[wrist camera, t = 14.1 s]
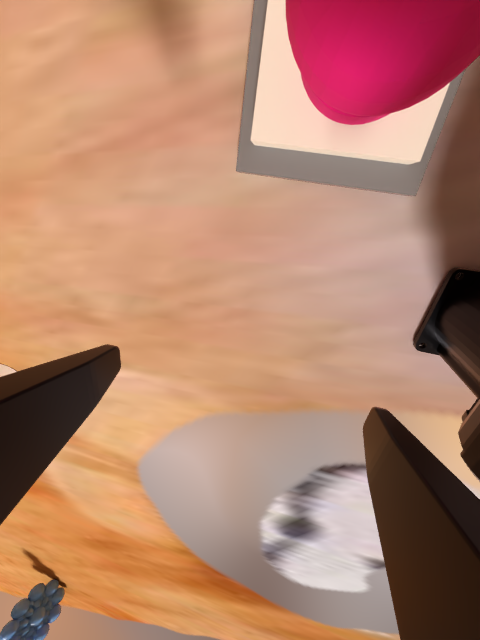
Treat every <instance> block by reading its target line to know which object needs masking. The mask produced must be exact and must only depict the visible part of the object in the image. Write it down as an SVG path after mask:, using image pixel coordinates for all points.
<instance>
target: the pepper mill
mask: <svg viewBox="0 0 480 640" xmlns="http://www.w3.org/2000/svg"><path fill="white" fill-rule="evenodd" d="M286 22H287V30H288V37H289V41H290V45H291V49H292V52H293V56H294V59H295V61H296V64H297V66H298V68H299V70H300V72H301V78H302V82H303V85H304V88H305V90H306V93H307V95H308V97H309V99H310V100H311V102H312V103H313V105H314V106H315V107H316V108H317V110H318V111H320V112H321V113H322V114H323V115H324V116H326V117H327V118H329V119H330V120H333V121H335V122H338V123H342V124H347V125H360V124H365V123H369V122H373V121H376V120H379V119H381V118H383V117H385V116H387V115H389V114H391V113H394V112H397V111H401V110H404V109H406V108H409V107H411V106H413V105H415V104H417V103H419V102H421V101H423V100H425V99H427V98H429V97H430V96H432V95H433V94H435V93H436V92H438V91H439V90H441V89H442V88H444V87H445V86H446V85H447V84H449V83H450V82H451V81H452V80H453V79H454V78H456V77H457V76H458V75H459V74H460V73H461V72H463V71H464V70H465V69H466V68H467V67H468V66H469V65H470V64H471V63H472V62H473V61H474V60H475V59H476V58H477V57H478V56H479V55H480V0H286Z"/></svg>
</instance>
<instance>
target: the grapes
mask: <svg viewBox="0 0 480 640" xmlns="http://www.w3.org/2000/svg"><path fill="white" fill-rule="evenodd" d="M58 586H59V582H58V581H57V580H51V581H50V582H49V583H48V584H47V585H46V586H45V585H44V584H43V583H39V584H37V585H36V586H35V587H34V588H33V589H32V590H31V591H30V593H29V595H28V598H26V599H22V600H20V601H19V602H18V603H17V604H16V605H15V606H14V608H13V610H12V612H11V617H12V618H13V620H11V621H9V622H8V623H7V624H6V625H5V626H4V627H3V629H2V631H1V633H0V640H43V639H44V638H45V637H46V636H47V634H48V631H49V624H48V623H52V622H53V621H55V620H56V619H57V617H58V616H59V614H60V612H61V606H60V605H59V604H58V603H59V602H60V601H61V600H62V599H63V597H64V594H65V592H64V589H63V588H58Z"/></svg>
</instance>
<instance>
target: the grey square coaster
mask: <svg viewBox="0 0 480 640" xmlns="http://www.w3.org/2000/svg"><path fill="white" fill-rule="evenodd" d="M464 72H465V70H464V71H463V72H461V73H460V74H459V75H458V76H457V77H456V78H454V79H453V80H452V81H451V82H450V83H449V84H447V85H446V86H445V87H444V88H442V89H441V90H439V91H438V92H436V93H435V94H433V95H432V96H430V97H429V98H427V99H425V100H423V101H421V102H419V103H417V104H415V105H413V106H411V107H409V108H406V109H404V110H401V111H397V112H394V113H391V114H389V115H387V116H385V117H383V118H381V119H379V120H376V121H373V122H369V123H365V124H360V125H347V124H342V123H338V122H335V121H333V120H330V119H329V118H327V117H326V116H324V115H323V114H322V113H321V112H320V111H318V110H317V108H316V107H315V106H314V105H313V103H312V102H311V100H310V99H309V97H308V95H307V93H306V90H305V88H304V85H303V82H302V78H301V72H300V70H299V68H298V66H297V64H296V61H295V59H294V56H293V52H292V49H291V45H290V41H289V37H288V30H287V22H286V0H254V8H253V17H252V26H251V36H250V45H249V54H248V63H247V73H246V82H245V91H244V101H243V110H242V119H241V129H240V138H239V147H238V157H237V166H236V171H237V172H240V173H247V174H255V175H262V176H269V177H276V178H283V179H290V180H298V181H305V182H312V183H319V184H326V185H333V186H341V187H348V188H355V189H362V190H369V191H376V192H384V193H391V194H398V195H405V196H416V194H417V191H418V189H419V186H420V184H421V181H422V178H423V176H424V173H425V171H426V168H427V166H428V163H429V161H430V158H431V156H432V153H433V151H434V148H435V145H436V143H437V140H438V138H439V135H440V133H441V130H442V128H443V125H444V123H445V120H446V118H447V115H448V112H449V110H450V107H451V105H452V102H453V100H454V97H455V95H456V92H457V90H458V87H459V85H460V82H461V79H462V77H463V74H464Z"/></svg>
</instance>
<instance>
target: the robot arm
mask: <svg viewBox="0 0 480 640" xmlns="http://www.w3.org/2000/svg"><path fill="white" fill-rule="evenodd" d="M458 273H461V275H460V277H458V278H455V276H456V274H458ZM421 343H424V345H422V346H419V345H420V344H421ZM413 345H414V347H415V348H416V349H417V350H418V351H421V352H426V353H431V354H436V355H440V356H441V357H442V358H443V360H444V361H445V362H446V363H447V364H448V365H449V366H450V367H451V369H452V370H453V371H454V372H455V373H456V374H457V375H458V376H459V378H460V379H461V380H462V381H463V382H464V383H465V384H466V385H467V387H468V388H469V389H470V390H471V391H472V392H473V393H474V395H475V396H476V397H477V398H478V399H477V400H476V401H475V403H474V404H473V406H472V407H471V408H470V410H466V412H465V413H464V414H463V416H462V421H463V423H462V424H461V427H460V430H459V432H458V433H459V438H460V441H461V445H462V448H463V451H462V452H461V457H462V458H463V460H464V462H465V463H466V464H467V466H468V467H469V469H470V470H471V472H472V473H473V474H474V476H475V477H476V478H477V479H478V480H479V481H480V271H477V270H471V269H465V268H454V269H452V270H451V271H450V272H449V273H448V275H447V277H446V279H445V281H444V283H443V285H442V287H441V289H440V291H439V293H438V295H437V297H436V299H435V301H434V303H433V305H432V307H431V309H430V311H429V313H428V315H427V317H426V319H425V321H424V323H423V325H422V327H421V329H420V330H419V332H418V334H417V336H416V338H415V340H414V343H413ZM120 368H121V360H120V350H119V348H118V347H117V346H113V345H108V344H107V345H103V346H100V347H96V348H93V349H90V350H87V351H83V352H80V353H77V354H74V355H70V356H67V357H64V358H60V359H57V360H54V361H51V362H47V363H44V364H41V365H37V366H34V367H31V368H28V369H24V370H21V371H18V372H14V373H11V374H8V375H5V376H1V377H0V525H1V524H2V522H3V521H4V520H5V519H6V518H7V516H8V515H9V514H10V513H11V511H12V510H13V509H14V508H15V506H16V505H17V504H18V503H19V501H20V500H21V499H22V498H23V496H24V495H25V494H26V493H27V491H28V490H29V489H30V488H31V487H32V485H33V484H34V483H35V482H36V480H37V479H38V478H39V477H40V475H41V474H42V473H43V472H44V470H45V469H46V468H47V467H48V465H49V464H50V463H51V462H52V460H53V459H54V458H55V457H56V456H57V454H58V453H59V452H60V451H61V449H62V448H63V447H64V446H65V444H66V443H67V442H68V441H69V439H70V438H71V437H72V436H73V434H74V433H75V432H76V431H77V429H78V428H79V427H80V426H81V424H82V423H83V422H84V421H85V420H86V418H87V417H88V416H89V415H90V413H91V412H92V411H93V409H94V408H95V407H96V406H97V404H98V403H99V401H100V400H101V398H102V397H103V395H104V394H105V392H106V391H107V389H108V388H109V386H110V385H111V383H112V381H113V380H114V378H115V377H116V375H117V374H118V372H119V370H120ZM363 437H364V448H365V459H366V470H367V478H368V484H369V489H370V494H371V498H372V503H373V508H374V513H375V518H376V523H377V528H378V532H379V537H380V542H381V547H382V552H383V557H384V562H385V567H386V571H387V576H388V581H389V585H390V590H391V596H392V601H393V605H394V610H395V615H396V620H397V625H398V630H399V635H400V639H401V640H480V499H478V498H477V497H476V496H475V495H474V494H473V493H472V492H471V491H470V490H469V489H468V488H467V487H466V486H465V485H464V484H463V483H462V482H461V481H460V480H459V479H458V478H457V477H456V476H455V475H454V474H453V473H452V472H451V471H450V470H449V469H448V468H447V467H445V466H444V465H443V463H441V462H440V461H439V460H438V459H437V458H436V457H435V456H434V455H433V454H432V453H431V452H430V451H429V450H428V449H427V448H426V447H425V446H424V445H423V444H422V443H421V442H420V441H419V440H418V439H417V438H416V437H415V436H414V435H413V434H412V433H411V432H410V431H408V430H407V428H405V427H404V426H403V425H402V424H401V423H400V422H399V421H398V420H397V419H396V418H395V417H394V416H393V415H392V414H391V413H390V412H389V411H388V410H386V409H383V408H378V407H373V408H372V409H371V411H370V413H369V415H368V417H367V419H366V421H365V423H364V426H363Z"/></svg>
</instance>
